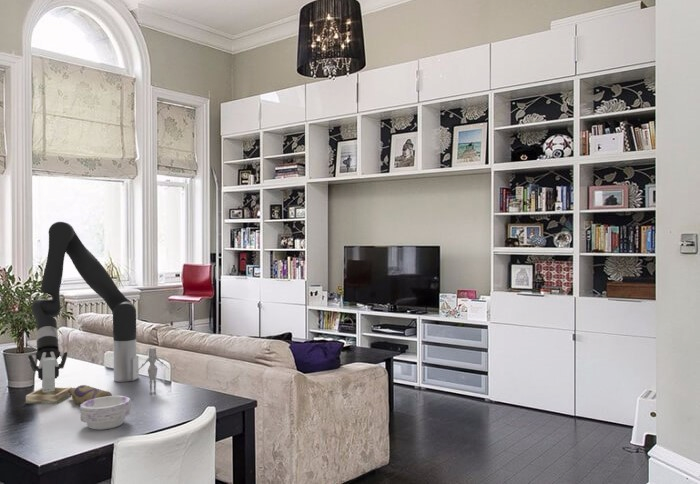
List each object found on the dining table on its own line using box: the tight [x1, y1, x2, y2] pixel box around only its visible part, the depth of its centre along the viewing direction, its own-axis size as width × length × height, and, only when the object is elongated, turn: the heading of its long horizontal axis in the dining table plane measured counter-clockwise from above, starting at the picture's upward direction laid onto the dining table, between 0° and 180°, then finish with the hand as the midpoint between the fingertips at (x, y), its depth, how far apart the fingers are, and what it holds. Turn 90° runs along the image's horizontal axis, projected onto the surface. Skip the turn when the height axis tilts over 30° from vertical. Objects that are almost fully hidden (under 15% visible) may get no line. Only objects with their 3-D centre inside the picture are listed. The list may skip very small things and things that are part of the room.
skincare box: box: [41, 357, 56, 392], centre depth 223 cm, size 6×4×12 cm
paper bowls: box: [79, 395, 131, 431], centre depth 191 cm, size 15×15×8 cm
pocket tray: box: [25, 386, 73, 405], centre depth 223 cm, size 12×12×3 cm
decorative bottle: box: [68, 384, 113, 405], centre depth 216 cm, size 26×8×7 cm, turn 50°
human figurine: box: [137, 347, 169, 395], centre depth 229 cm, size 12×4×18 cm, turn 117°
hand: (48, 377), depth 221 cm, fingers closed on skincare box, 4 cm apart
